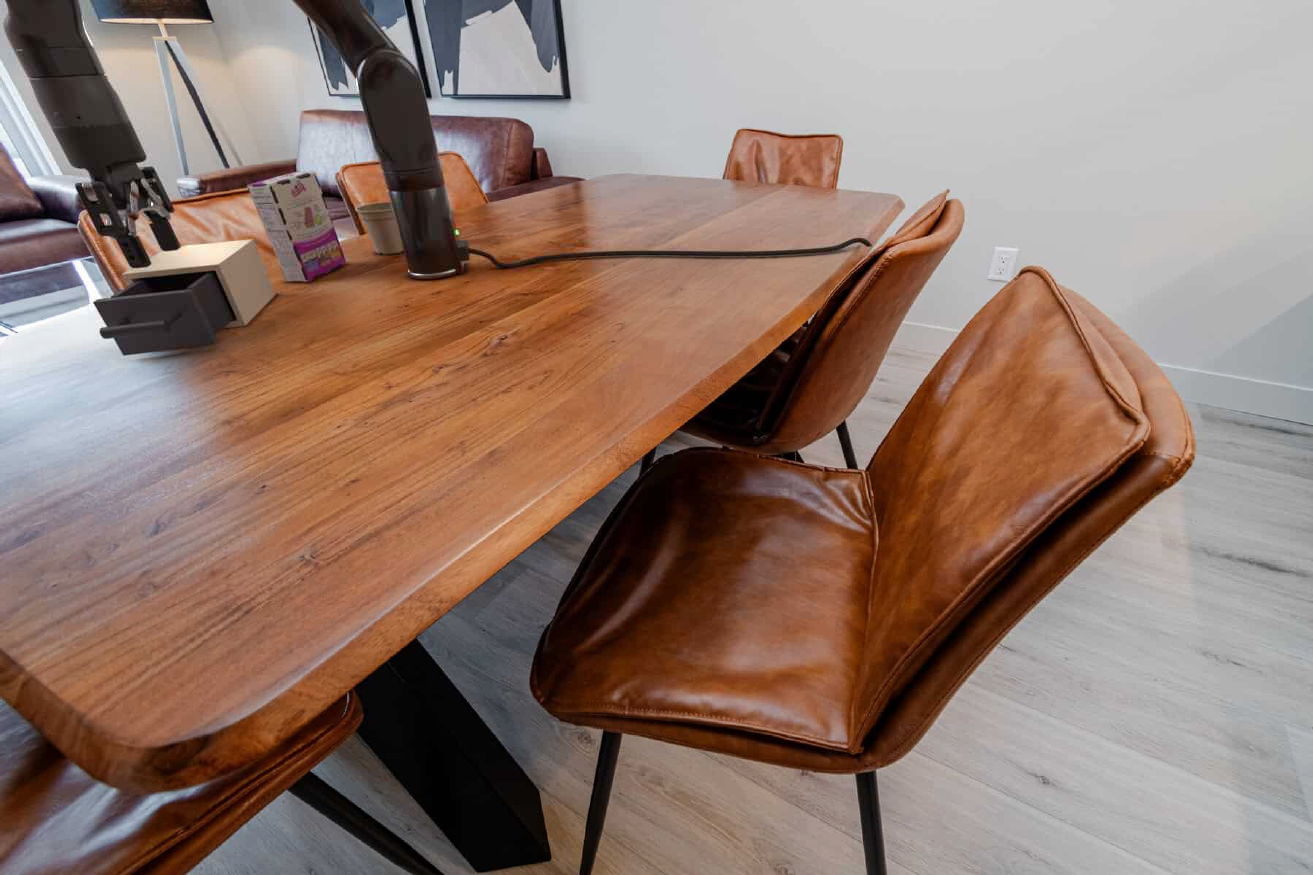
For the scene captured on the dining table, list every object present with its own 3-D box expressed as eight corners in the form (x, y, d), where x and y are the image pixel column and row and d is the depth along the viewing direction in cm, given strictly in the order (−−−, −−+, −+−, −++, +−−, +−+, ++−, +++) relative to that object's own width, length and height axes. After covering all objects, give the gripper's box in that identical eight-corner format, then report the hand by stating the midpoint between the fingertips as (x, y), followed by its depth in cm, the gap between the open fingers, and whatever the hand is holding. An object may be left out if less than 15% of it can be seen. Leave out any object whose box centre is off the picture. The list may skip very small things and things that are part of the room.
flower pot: (406, 242, 126) (395, 199, 122) (425, 249, 120) (414, 204, 116) (361, 252, 121) (347, 207, 116) (379, 260, 115) (365, 213, 110)
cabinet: (245, 325, 88) (218, 264, 83) (154, 336, 86) (121, 274, 81) (275, 294, 100) (253, 238, 95) (196, 303, 98) (169, 247, 93)
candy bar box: (324, 264, 115) (292, 171, 106) (347, 264, 114) (317, 171, 105) (283, 282, 106) (244, 183, 97) (307, 283, 105) (270, 183, 96)
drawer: (199, 359, 76) (171, 304, 72) (102, 371, 74) (69, 315, 70) (249, 310, 91) (228, 262, 87) (169, 319, 89) (144, 271, 85)
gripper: (92, 124, 66) (164, 270, 74) (153, 115, 77) (209, 242, 86) (14, 129, 64) (96, 277, 73) (88, 119, 76) (151, 247, 85)
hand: (157, 258), depth 80 cm, fingers open, 8 cm apart
